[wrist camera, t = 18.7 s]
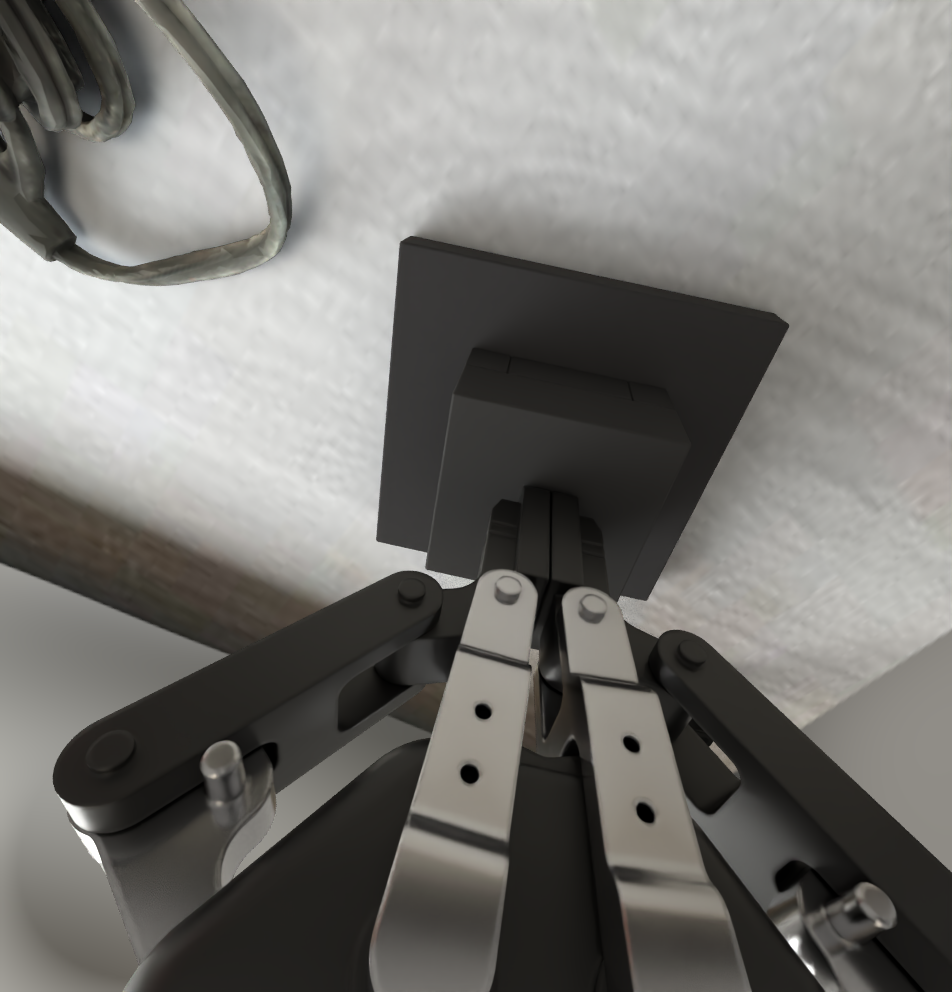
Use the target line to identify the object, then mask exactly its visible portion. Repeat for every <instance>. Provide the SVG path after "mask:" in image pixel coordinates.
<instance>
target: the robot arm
mask: <svg viewBox="0 0 952 992" xmlns="http://www.w3.org/2000/svg"><path fill="white" fill-rule="evenodd" d="M603 545H604V544H603V536H602V531H601V530H600V528H599V527H598V525H597V524H596V522H595V521H594V519H593V518H588V517H584V516H579V502H578V497H576V496H572V495H567V494H563V493H558V492H553V491H551V493H550V491H548V490H544V489H539V488H534V487H530V486H525V485H524V486H523V489H522V492H521V496H520V500H519V502H514V501H510V500H505V499H501V500H500V501H499V502H498V503H497V504H496V505H495V506H494V507H493V509H492V513H491V517H490V521H489V525H488V530H487V534H486V538H485V542H484V546H483V551H482V556H481V562H480V567H479V573H478V578H477V579H476V580H475V581H474V582H473V583H471V584H469V585H467V586H464V587H461V588H454V589H442V588H441V586H440V584H439V583H438V582H437V581H436V580H435V579H434V578H432V577H431V576H429V575H427V574H424V573H421V572H417V571H401V572H397V573H394V574H392V575H390V576H388V577H386V578H384V579H382V580H380V581H378V582H376V583H374V584H372V585H370V586H368V587H366V588H364V589H362V590H360V591H358V592H356V593H353V594H351V595H349V596H347V597H345V598H343V599H341V600H339V601H337V602H335V603H333V604H331V605H329V606H327V607H325V608H323V609H321V610H319V611H317V612H315V613H313V614H311V615H309V616H307V617H305V618H303V619H301V620H299V621H297V622H295V623H293V624H291V625H289V626H287V627H285V628H283V629H281V630H279V631H277V632H275V633H273V634H271V635H269V636H267V637H265V638H263V639H261V640H259V641H257V642H255V643H253V644H251V645H249V646H247V647H245V648H243V649H241V650H239V651H237V652H235V653H233V654H231V655H229V656H227V657H225V658H223V659H221V660H219V661H217V662H215V663H213V664H211V665H209V666H207V667H205V668H203V669H201V670H199V671H196V672H195V673H192V674H191V675H189V676H187V677H184V678H183V679H180V680H179V681H177V682H174V683H173V684H171V685H168V686H167V687H164V688H162V689H160V690H158V691H156V692H154V693H152V694H150V695H148V696H147V697H144V698H142V699H140V700H138V701H136V702H134V703H132V704H130V705H128V706H126V707H124V708H122V709H120V710H118V711H116V712H114V713H112V714H110V715H108V716H106V717H104V718H102V719H100V720H98V721H96V722H94V723H93V724H91V725H89V726H88V727H86V728H85V729H83V730H82V731H81V732H80V733H78V734H77V735H76V736H75V737H74V738H73V739H72V740H71V741H70V742H69V743H68V744H67V746H66V747H65V748H64V749H63V751H62V752H61V754H60V756H59V758H58V759H57V762H56V764H55V767H54V772H53V785H54V787H55V791H56V792H57V794H58V796H59V797H60V799H61V801H62V802H63V804H64V806H65V807H66V809H67V813H68V818H69V821H70V823H71V824H72V826H73V828H74V829H75V831H76V833H77V834H78V836H79V837H80V839H81V841H82V842H83V844H84V846H85V847H86V849H87V850H88V852H89V854H90V855H91V856H92V858H94V859H95V860H96V861H97V862H99V863H100V865H101V867H102V868H103V870H104V872H105V873H106V876H107V878H108V881H109V884H110V887H111V889H112V892H113V895H114V898H115V901H116V903H117V906H118V909H119V912H120V914H121V917H122V920H123V923H124V925H125V928H126V931H127V934H128V936H129V939H130V942H131V945H132V947H133V950H134V953H135V956H136V959H137V961H138V964H139V967H138V969H137V970H136V971H135V973H134V974H133V976H132V977H131V979H130V980H129V982H128V983H127V985H126V987H125V988H124V990H123V992H952V872H950V871H949V870H948V869H947V868H946V867H945V866H944V865H943V864H942V863H941V862H940V861H939V860H938V859H937V858H936V857H934V856H933V855H932V854H931V853H930V852H929V851H928V850H927V849H926V848H925V847H924V846H923V845H922V844H921V843H920V842H919V841H918V840H916V839H915V838H914V837H913V836H912V835H911V834H910V833H909V832H908V831H907V830H906V829H905V828H904V827H903V826H902V825H901V824H900V823H899V822H897V821H896V820H895V819H894V818H893V817H892V816H891V815H890V814H889V813H888V812H887V811H886V810H885V809H884V808H883V807H882V806H880V805H879V804H878V803H877V802H876V801H875V800H874V799H873V798H872V797H871V796H870V795H869V794H868V793H867V792H866V791H865V790H863V789H862V788H861V787H860V786H859V785H858V784H857V783H856V782H855V781H854V780H853V779H852V778H850V776H849V775H847V774H846V773H845V772H844V771H843V770H842V769H841V768H840V767H839V766H838V765H837V764H836V763H835V762H834V761H833V760H832V759H830V757H828V756H827V755H826V754H825V753H824V752H823V751H822V750H821V749H820V748H819V747H818V746H817V745H816V744H815V743H814V742H812V741H811V740H810V739H809V738H808V737H807V736H806V735H805V734H804V733H803V732H802V731H801V730H800V729H799V728H798V727H797V726H796V725H794V724H793V723H792V722H791V721H790V720H789V719H788V718H787V717H786V716H785V715H784V714H783V713H782V712H781V711H780V710H779V709H778V708H776V707H775V706H774V705H773V704H772V703H771V702H770V701H769V700H768V699H767V698H766V697H765V696H764V695H763V694H762V693H761V692H759V691H758V690H757V689H756V688H755V687H754V686H753V685H752V684H751V683H750V682H749V681H748V680H747V679H746V678H745V677H744V676H742V675H741V674H740V673H739V672H738V671H737V670H736V669H735V668H734V667H733V666H732V665H731V664H730V663H729V662H728V661H727V660H725V659H724V658H723V657H722V656H721V655H720V654H719V653H718V652H717V651H716V650H715V649H714V648H713V647H712V646H711V645H709V644H708V643H707V642H706V641H705V640H703V639H702V638H700V637H698V636H696V635H694V634H692V633H690V632H686V631H682V630H669V631H666V632H665V633H663V634H662V635H661V636H660V637H659V639H658V638H656V637H654V636H652V635H650V634H647V633H645V632H643V631H641V630H639V629H637V628H635V627H634V626H632V625H630V624H629V623H628V622H626V621H625V620H624V618H623V614H622V611H621V609H620V607H619V605H618V604H617V603H616V601H615V600H614V599H613V598H611V597H610V593H609V585H608V577H607V568H606V560H605V558H604V557H605V552H604V548H603ZM531 648H532V649H537V650H539V661H538V664H537V666H536V669H535V672H534V676H533V683H534V705H535V727H536V753H535V752H533V751H531V750H529V749H527V748H524V747H522V739H523V732H524V725H525V717H526V710H527V702H528V695H529V688H530V680H531V671H532V667H531V665H528V663H529V656H530V649H531ZM442 682H447V685H446V688H445V692H444V695H443V699H442V702H441V705H440V709H439V712H438V716H437V719H436V722H435V726H434V729H433V732H432V736H431V738H426V739H421V740H416V741H413V742H410V743H407V744H404V745H402V746H400V747H398V748H395V749H393V750H392V751H390V752H389V753H387V754H385V755H384V756H382V757H381V758H380V759H378V760H377V761H376V762H375V763H373V764H372V765H371V766H370V767H369V768H367V769H366V770H365V771H364V772H362V773H361V774H360V775H359V776H358V777H356V778H355V779H354V780H353V781H351V782H350V783H349V784H348V785H347V786H345V787H344V788H343V789H342V790H341V791H339V792H338V793H337V794H336V795H334V796H333V797H332V798H331V799H330V800H328V801H327V802H326V803H325V804H324V805H322V806H321V807H320V808H319V809H318V810H316V811H315V812H314V813H313V814H311V815H310V816H309V817H308V818H307V819H305V820H304V821H303V822H302V823H300V824H299V825H298V826H297V827H296V828H295V829H293V830H292V831H291V832H290V833H288V834H287V835H286V836H285V837H284V838H282V839H281V840H280V841H279V842H277V843H276V844H275V845H274V846H273V847H271V848H270V849H269V850H268V851H266V852H265V853H264V854H263V855H262V856H260V857H259V858H258V859H257V860H256V861H254V862H253V863H252V864H251V865H249V866H248V867H247V868H246V869H245V870H243V871H242V872H241V873H240V874H239V875H237V876H236V877H235V878H234V879H233V877H234V874H235V872H236V870H237V868H238V866H239V865H240V863H241V862H242V860H243V859H244V858H245V857H246V855H247V854H248V853H249V852H250V851H251V850H252V849H253V848H254V847H255V846H256V845H257V844H258V843H260V842H261V840H262V839H263V838H264V836H265V835H266V834H267V832H268V831H269V829H270V827H271V825H272V823H273V820H274V817H275V814H276V794H277V793H278V792H280V791H281V790H283V789H284V788H285V787H287V786H288V785H290V784H291V783H292V782H294V781H295V780H297V779H298V778H299V777H301V776H302V775H304V774H305V773H306V772H308V771H309V770H310V769H312V768H313V767H315V766H316V765H318V764H319V763H321V762H322V761H323V760H325V759H326V758H327V757H329V756H330V755H332V754H333V753H335V752H336V751H337V750H339V749H340V748H342V747H343V746H345V745H346V744H347V743H349V742H350V741H352V740H353V739H354V738H356V737H357V736H359V735H360V734H361V733H363V732H364V731H366V730H367V729H368V728H370V727H371V726H373V725H374V724H375V723H377V722H378V721H379V720H381V719H383V718H384V717H385V716H387V715H388V714H390V713H391V712H392V711H394V710H395V709H397V708H398V707H399V706H401V705H402V704H404V703H405V702H406V701H408V700H409V699H411V698H412V697H413V696H415V695H416V694H418V693H419V692H420V691H421V690H422V689H423V688H424V687H425V685H426V684H431V683H442ZM692 718H693V720H694V721H695V722H696V723H697V724H698V725H699V726H700V727H701V728H702V729H703V730H704V731H705V733H706V734H707V735H708V736H709V737H710V738H711V739H712V740H713V741H714V742H715V743H716V745H717V746H718V747H719V748H720V749H721V750H722V751H723V752H724V753H725V754H726V755H727V757H728V758H729V759H730V760H731V761H732V762H733V763H734V765H735V766H736V768H737V770H738V772H739V774H740V778H741V780H739V779H738V778H737V777H736V776H735V775H734V774H733V773H732V772H731V771H730V770H729V769H728V768H727V767H726V765H725V764H724V763H723V762H722V761H721V760H720V759H719V758H718V757H717V755H716V754H715V753H714V752H713V751H712V750H711V749H710V748H709V747H708V746H707V744H706V743H705V742H704V741H703V740H702V739H701V738H700V737H699V736H698V734H697V733H696V732H695V731H694V730H693V729H692V728H691V727H690V726H689V724H688V723H689V722H690V720H691V719H692Z"/></svg>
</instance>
